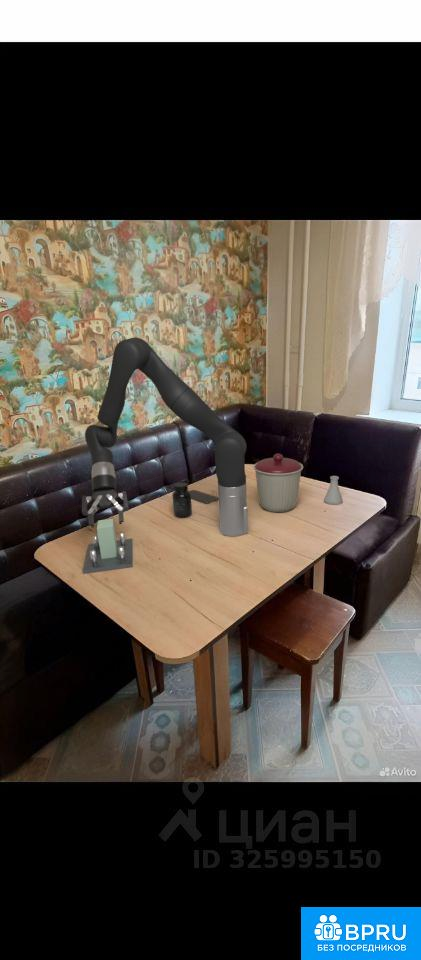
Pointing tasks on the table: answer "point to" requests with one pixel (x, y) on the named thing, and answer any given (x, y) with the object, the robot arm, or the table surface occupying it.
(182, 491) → the supplement bottle
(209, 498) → the smartphone
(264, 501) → the canister
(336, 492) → the flask
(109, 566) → the plate
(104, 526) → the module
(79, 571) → the table surface
